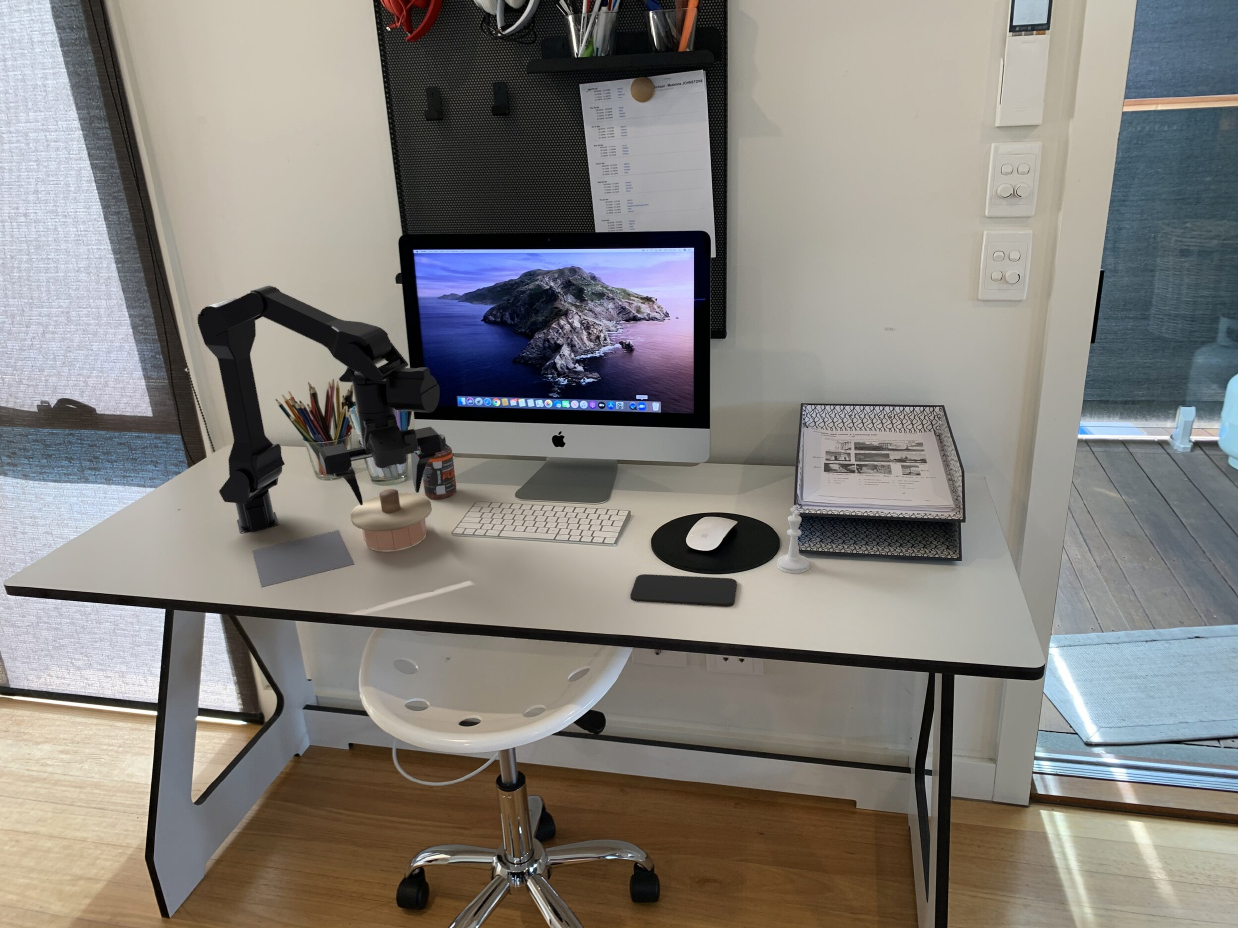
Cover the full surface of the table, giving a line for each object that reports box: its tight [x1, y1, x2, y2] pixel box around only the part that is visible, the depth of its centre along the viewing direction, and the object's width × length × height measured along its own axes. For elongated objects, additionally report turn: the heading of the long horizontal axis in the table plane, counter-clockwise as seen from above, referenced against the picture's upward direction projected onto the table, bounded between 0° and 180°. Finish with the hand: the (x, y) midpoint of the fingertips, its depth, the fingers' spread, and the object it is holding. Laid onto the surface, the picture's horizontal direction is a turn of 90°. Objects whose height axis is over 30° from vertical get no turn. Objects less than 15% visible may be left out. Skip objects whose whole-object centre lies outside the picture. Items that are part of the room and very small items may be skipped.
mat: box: [251, 529, 355, 588], centre depth 145 cm, size 14×14×1 cm
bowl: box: [361, 518, 428, 553], centre depth 149 cm, size 10×10×5 cm
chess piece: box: [776, 504, 811, 574], centre depth 134 cm, size 5×5×10 cm
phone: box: [629, 573, 738, 608], centre depth 131 cm, size 7×1×15 cm
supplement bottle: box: [422, 433, 457, 500], centre depth 165 cm, size 6×6×11 cm
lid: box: [350, 488, 433, 531], centre depth 148 cm, size 13×13×4 cm
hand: (389, 498), depth 147 cm, fingers open, 9 cm apart
